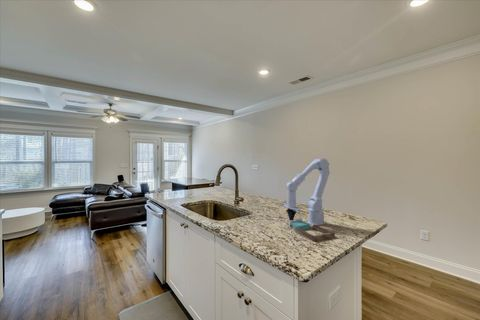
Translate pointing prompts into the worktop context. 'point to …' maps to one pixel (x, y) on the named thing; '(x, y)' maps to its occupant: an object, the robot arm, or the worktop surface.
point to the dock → (326, 235)
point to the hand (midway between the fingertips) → (291, 220)
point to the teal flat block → (299, 224)
